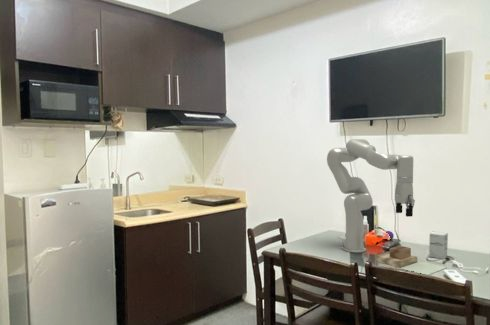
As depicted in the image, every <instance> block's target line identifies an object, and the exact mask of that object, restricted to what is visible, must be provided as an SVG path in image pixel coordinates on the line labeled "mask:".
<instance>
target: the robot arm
mask: <svg viewBox="0 0 490 325" xmlns="http://www.w3.org/2000/svg"><path fill="white" fill-rule="evenodd" d="M358 159H362V160H365V161H366V162H367V163H368V164H369V165H371V166H373V167H375V168H377V169H380V170H396V183H395V189H394V202H395V213H396V214H402V213H403V204H404V205H405V206H406V208H405V217H413V209H414V206H415V202H416V200H415V199H414V187H413V184H414V156H412V155H407V154H406V155H405V154H404V155H400V154H382V153H380V152H377V150H376V147H375V146H374V145H373V144H371V143H370V142H369V141H368V140H366V139H364V138H363V139H362V138H352V139H350V140H348V141H347V142H346V143H345V147H335V148H332V149H330V150H329V151H328V153H327V155H326V163H327V166H328V168H329V170H330V171H331V174H332V176H333V177H334V180H335V182H336V184H337V187H338V189H339V191H341V193H342V194H345V195H347V196H345V198H344V201H343V207H344V212H345V240H344V239H342V240H341V242H340V244H341V245H344V246H343V247H342V250H343V251H345V252H347V253H348V252H349V253H365V252H367V248H366V247H365V246H364V218H363V216H364V215H363V214H362V212H361V211H366V210H369V209H371V208H372V206H373V198H372V195H371V193H370V191H369V189H368V187H367V185H366V183H365V181H364V180H363V179H362V178H360V177H358V176H351V175H350V173H349V171H348V169H347V168H346V167H345V165H343V164H342V163H351V162H354V161H356V160H358Z"/></svg>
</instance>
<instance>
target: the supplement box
mask: <svg viewBox="0 0 490 325" xmlns="http://www.w3.org/2000/svg"><path fill="white" fill-rule="evenodd" d="M448 237H449V233H447V232H441V231H432V232H430V233H429V243H428V245H429V247H428V248H429V251H428V255H429V256H428V257H429V258H435V259H436V258H437V259H442V260H445V259H446V258H447V257H448V247H449V246H448V241H449V240H448Z"/></svg>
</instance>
